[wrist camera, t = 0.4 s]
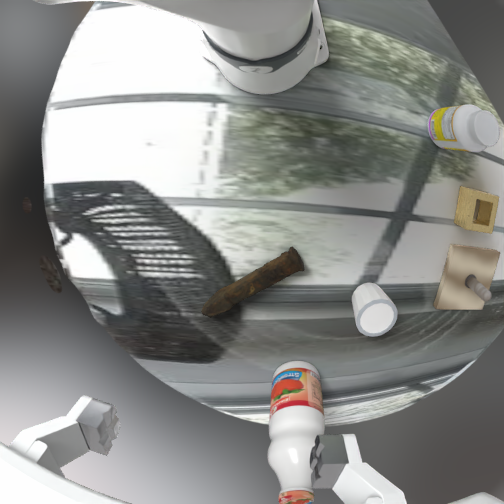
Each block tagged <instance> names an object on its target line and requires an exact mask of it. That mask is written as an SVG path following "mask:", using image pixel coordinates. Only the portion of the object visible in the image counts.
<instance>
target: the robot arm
mask: <svg viewBox="0 0 504 504" xmlns="http://www.w3.org/2000/svg"><path fill="white" fill-rule="evenodd" d="M34 1H36V2H39V3H43V4H60V3H68V2H77V1H114V2H123V3H129V4H134V5H139V6H143V7H147V8H151V9H155V10H159V11H163V12H166V13H169V14H172V15H176V16H179V17H182V18H184V19H187V20H190V21H192V22H194V23H196V24H197V25H198V26H199V27H200V28H201V29H202V30H203V33H204V35H203V36H201V41H202V45H201V49H200V51H201V54H202V55H203V57H205V58H206V59H207V60H209V61H211V62H212V63H214V64H215V65H216V66H217V67H218V68H219V70H220V71H221V73H222V74H223V75H224V77H225V78H226V79H227V80H228V81H229V82H230V83H231V84H233V85H234V86H236V87H238V88H239V89H242V90H244V91H247V92H250V93H255V94H274V93H279V92H282V91H285V90H287V89H290V88H291V87H293V86H295V85H296V84H297V83H299V82H300V81H301V80H302V79H303V78H304V77H305V76H306V74H307V73H308V72H309V71H310V70H311V69H312V68H314V67H316V66H318V65H320V64H322V63H324V62H326V61H327V60H328V58H329V51H328V46H327V41H326V36H325V32H324V27H323V23H322V18H321V14H320V10H319V6H318V2H317V0H34ZM320 46H321V47H322V49H320ZM116 413H117V409H116V406H114V405H112V404H109V403H106V402H103V401H100V400H97V399H94V398H91V397H88V396H85V395H84V396H82V397H81V398H80V399H79V400H78V402H77V403H76V404H75V406H74V407H73V408H72V409H71V410H70V412H69V413H68V414H67V416H66V417H64V416H62V417H59V418H56V419H54V420H51V421H48V422H45V423H42V424H40V425H37V426H34V427H31V428H28V429H25V430H22V431H21V432H20V433H19V435H18V436H17V437H16V438H15V439H14V441H13V442H12V443H11V444H10V445H9V447H8V446H6V445H5V444H3V443H2V442H0V504H131V503H128V502H125V501H122V500H119V499H115V498H113V497H110V496H107V495H105V494H102V493H99V492H97V491H94V490H92V489H89V488H87V487H85V486H82V485H80V484H77V483H75V482H73V481H71V480H69V479H66V478H65V476H64V475H63V473H62V471H61V469H60V467H62V466H64V465H66V464H68V463H69V462H71V461H73V460H74V459H76V458H78V457H80V456H81V455H83V454H85V453H87V452H88V451H89V450H91V451H94V452H97V453H100V454H103V455H106V456H107V454H108V452H109V451H110V449H111V447H112V442H111V441H112V440H114V439H116V438H117V436H118V434H119V430H120V420H119V418H118V417H117V416H116ZM310 468H311V469H312V470H313V472H312V474H311V483H312V488H333V490H334V491H335V493H336V494H337V495H338V496H339V497H340V499H341V500H342V501H343V502H344V503H345V504H407V503H406V500H405V497H404V493H403V492H402V491H401V490H400V489H398V488H397V487H396V486H395V485H393V484H392V483H391V482H389V481H388V480H387V479H386V478H384V477H383V476H382V475H380V474H379V473H378V472H377V471H376V470H374V469H373V468H372V467H371V466H369V465H368V464H367V463H363V462H362V459H361V455H360V451H359V447H358V444H357V440H356V437H355V435H354V434H342V435H341V434H333V435H317V436H316V438H315V446H313V447H312V450H311V453H310ZM449 504H504V502H503V501H501V500H499V499H498V498H496V497H493V496H492V495H489V494H487V493H484V492H482V493H477V494H474V495H471V496H469V497H466V498H463V499H461V500H458V501H455V502H452V503H449Z"/></svg>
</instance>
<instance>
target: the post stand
mask: <svg viewBox="0 0 504 504" xmlns="http://www.w3.org/2000/svg"><path fill="white" fill-rule="evenodd" d="M499 255H500V252H498V251H497V250H493V249H485V248H478V247H470V246H462V245H454V244H450V247H449V252H448V256H447V260H446V264H445V267H444V271H443V275H442V278H441V282H440V285H439V288H438V292H437V295H436V298H435V301H434V304H433V305H434V307H435V308H436V309H459V310H482V308H483V306H484V303H485V302H487V301H489V300H490V299H491V292H490V291H489V288H490V285H491V282H492V279H493V276H494V273H495V269H496V266H497V262H498V259H499Z"/></svg>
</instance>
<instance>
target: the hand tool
mask: <svg viewBox="0 0 504 504" xmlns="http://www.w3.org/2000/svg"><path fill="white" fill-rule="evenodd" d="M304 270H305V268H304V264H303V261H302V259H301V257H300V256H299V254H298V253H297V251H296V250H295V249H294V248H293V247H291V248H290V249H289V251H288V252H284V253H282V254H281V256H280V257H277V258H276V259H274V260H271V261H270V262H268V263H266V264H265V265H264V266H262V267H261V268H259V269H256V270H255V271H253V272H252V273H250V274H248V275H247V276H245V277H243V278H241V279H240V280H238V281H236V282H235V283H233V284H231V285H229V286H225V287H223V288H222V289H220V290H219V291H218V292H216V293H215V294H214V295H213V296H212V297H211V298H210V299H209V300H208V301H207V302H206V303H205V305H204V306H203V308H202V311H201V312H202V314H203V315H205V316H208V317H212V316H215V315H218V314H220V313H223V312H226V311H228V310H229V309H231V308H232V306H233V305H235V304H237V303H239V302H240V301H242V300H244V299H246V298H248V297H250V296H252V295H254V294H256V293H258V292H260V291H262V290H264V289H266V288H268V287H269V286H271V285H273V284H275V283H277V282H279V281H281V280H282V279H284V278H286V277H288V276H290V275H291V274H293V273H295V272H297V271H304Z"/></svg>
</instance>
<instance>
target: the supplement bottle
mask: <svg viewBox="0 0 504 504" xmlns="http://www.w3.org/2000/svg"><path fill="white" fill-rule="evenodd" d="M427 126H428V132H429V135H430V137H431V139H432V141H433V142H434V143H435V144H436V145H437V146H439V147H441V148H444V149H451V150H460V151H469V152H480V151H482V150H484V149H485V148H486V147H487V146H493V145H495V144H496V143H497V141H498V139H499V135H500V128H499V124H498V121H497V119H496V118H495V116H494V115H493V114H492V113H491V112H489V111H487V110H481V109H480V108H479V107H477V106H475V105H471V104H466V105H460V106H453V107H446V108H440V109H437V110H435V111H433V112H432V113H431V115H430V117H429V119H428V125H427Z"/></svg>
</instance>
